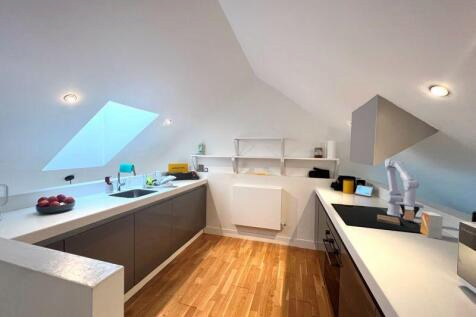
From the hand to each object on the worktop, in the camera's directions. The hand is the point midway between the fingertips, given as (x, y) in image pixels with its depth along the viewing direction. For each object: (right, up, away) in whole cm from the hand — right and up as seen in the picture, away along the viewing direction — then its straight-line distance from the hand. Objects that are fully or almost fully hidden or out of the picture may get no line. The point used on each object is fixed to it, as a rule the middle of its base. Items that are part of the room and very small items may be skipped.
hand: (408, 216), depth 143 cm
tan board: (-14, -3, +1) cm, 14 cm away
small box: (-7, -5, -23) cm, 24 cm away
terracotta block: (0, -2, 0) cm, 2 cm away
